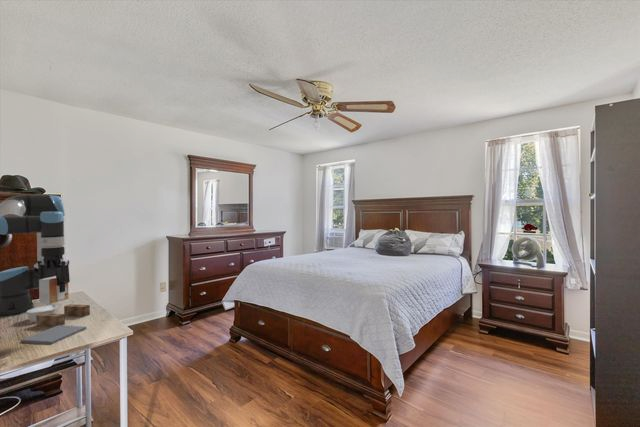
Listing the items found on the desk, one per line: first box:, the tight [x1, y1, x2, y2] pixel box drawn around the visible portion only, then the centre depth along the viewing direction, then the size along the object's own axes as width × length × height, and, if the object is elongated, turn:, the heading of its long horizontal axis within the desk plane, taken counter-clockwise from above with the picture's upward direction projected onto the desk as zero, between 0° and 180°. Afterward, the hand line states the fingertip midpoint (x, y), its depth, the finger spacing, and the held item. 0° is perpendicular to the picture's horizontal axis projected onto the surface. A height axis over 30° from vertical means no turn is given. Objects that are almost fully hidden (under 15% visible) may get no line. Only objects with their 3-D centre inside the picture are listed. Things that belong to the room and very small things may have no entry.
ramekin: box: [25, 304, 58, 323], centre depth 147 cm, size 11×11×5 cm
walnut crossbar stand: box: [36, 303, 91, 328], centre depth 145 cm, size 12×16×5 cm
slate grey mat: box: [20, 325, 87, 345], centre depth 127 cm, size 15×15×1 cm
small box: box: [38, 276, 70, 305], centre depth 127 cm, size 8×6×10 cm
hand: (54, 299), depth 127 cm, fingers closed on small box, 6 cm apart
